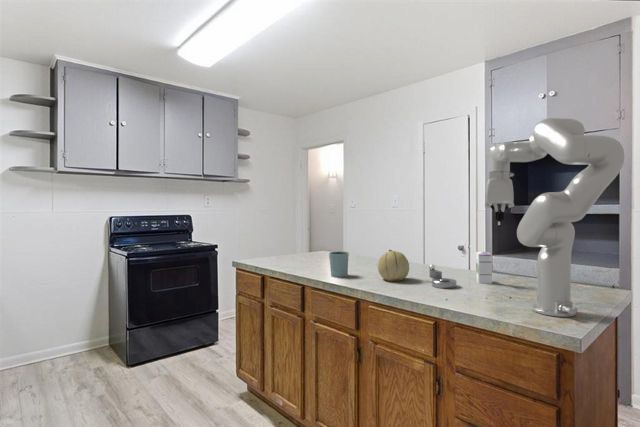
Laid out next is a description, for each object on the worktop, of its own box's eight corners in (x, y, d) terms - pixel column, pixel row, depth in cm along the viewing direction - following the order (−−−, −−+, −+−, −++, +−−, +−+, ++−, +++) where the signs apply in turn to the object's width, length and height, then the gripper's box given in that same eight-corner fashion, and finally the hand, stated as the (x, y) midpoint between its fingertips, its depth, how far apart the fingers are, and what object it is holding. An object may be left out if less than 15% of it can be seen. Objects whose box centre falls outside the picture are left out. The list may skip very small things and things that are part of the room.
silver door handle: (461, 288, 158) (461, 269, 158) (439, 289, 156) (439, 270, 156) (440, 280, 174) (440, 263, 174) (420, 281, 172) (420, 264, 172)
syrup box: (492, 286, 166) (492, 253, 165) (478, 285, 167) (478, 253, 166) (489, 283, 171) (489, 251, 171) (475, 283, 172) (475, 251, 172)
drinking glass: (352, 276, 190) (351, 253, 190) (333, 278, 187) (333, 254, 186) (343, 273, 200) (343, 250, 199) (326, 274, 196) (325, 252, 196)
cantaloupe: (395, 286, 166) (395, 253, 166) (371, 281, 178) (371, 250, 177) (416, 282, 176) (416, 250, 175) (391, 277, 187) (391, 247, 187)
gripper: (518, 176, 153) (518, 221, 154) (479, 177, 159) (479, 221, 159) (521, 175, 146) (521, 222, 147) (479, 176, 152) (479, 221, 152)
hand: (499, 221), depth 153 cm, fingers closed
